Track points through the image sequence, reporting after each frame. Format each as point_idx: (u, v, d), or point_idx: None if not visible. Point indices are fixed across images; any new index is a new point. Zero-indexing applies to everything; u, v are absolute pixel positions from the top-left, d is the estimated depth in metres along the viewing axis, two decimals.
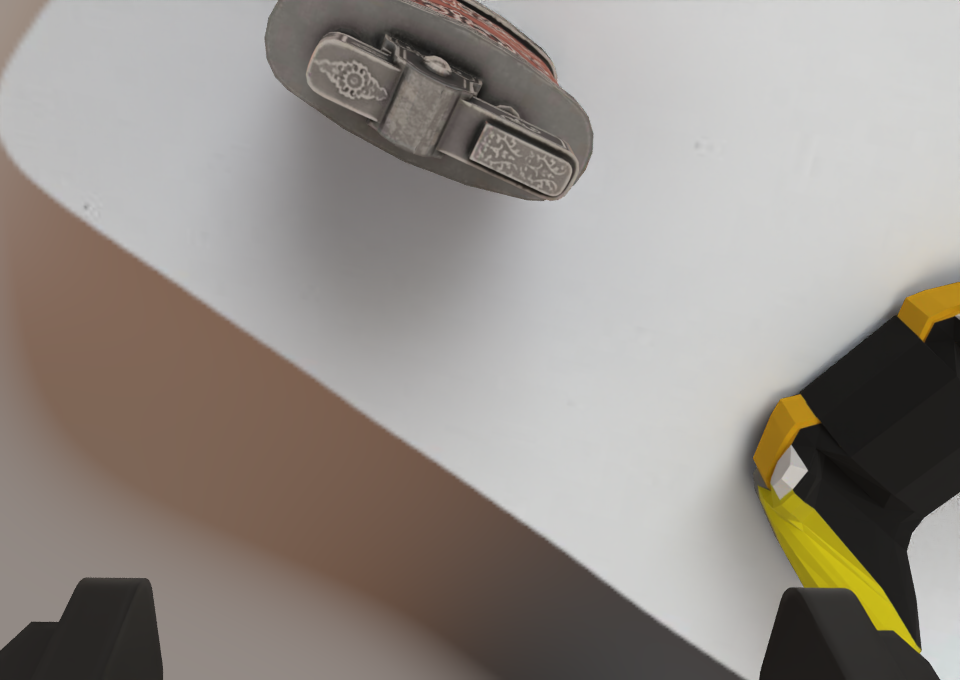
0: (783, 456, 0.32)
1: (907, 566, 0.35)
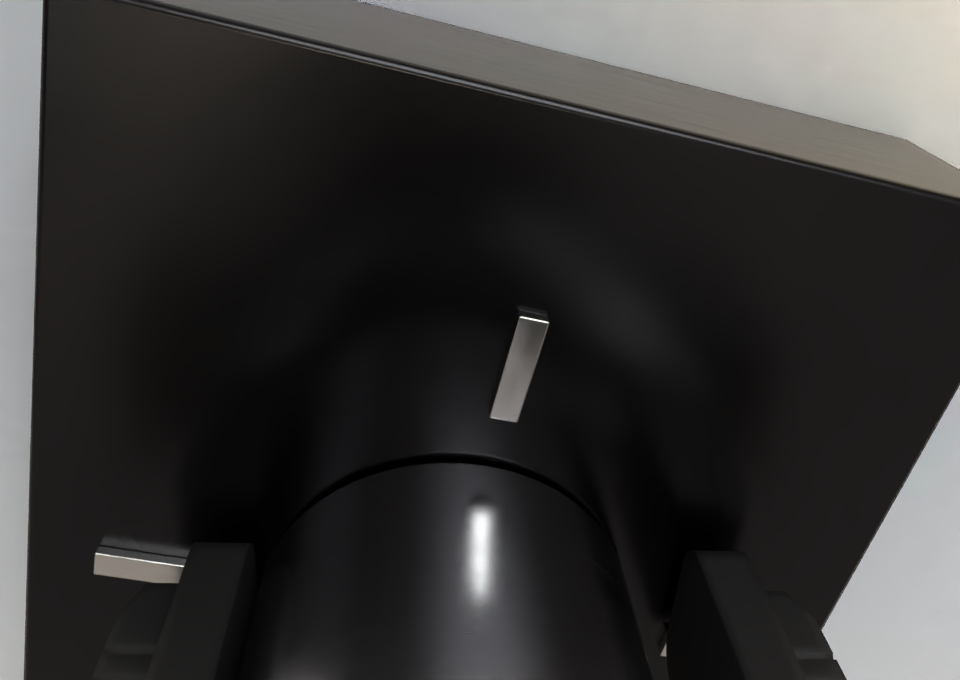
0: None
1: None
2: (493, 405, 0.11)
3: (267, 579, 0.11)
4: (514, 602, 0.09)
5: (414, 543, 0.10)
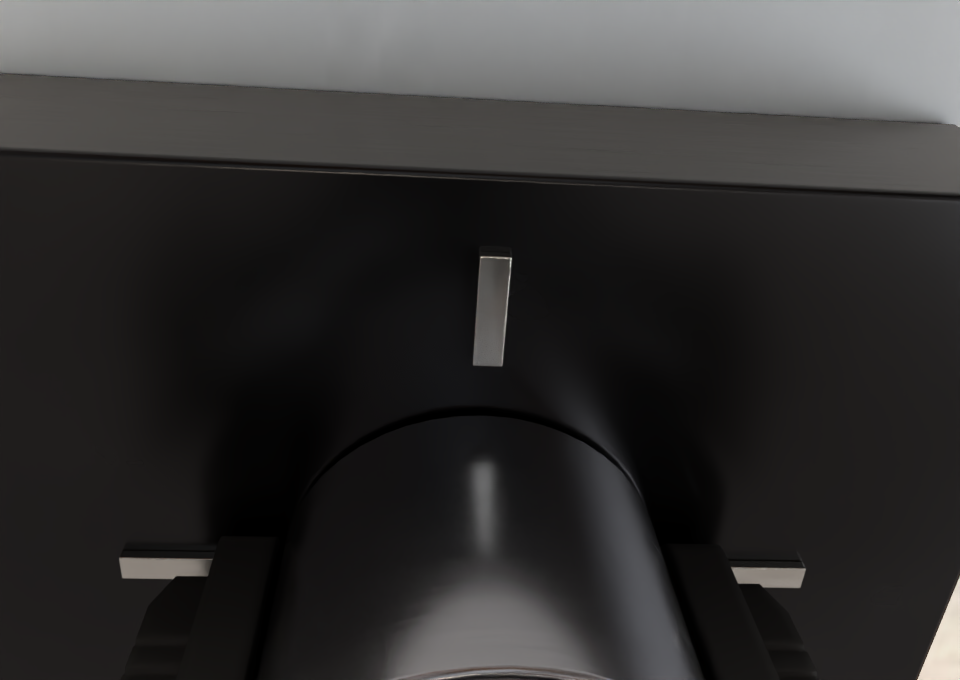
0: None
1: None
2: None
3: (320, 501, 0.11)
4: (603, 563, 0.09)
5: (501, 489, 0.10)
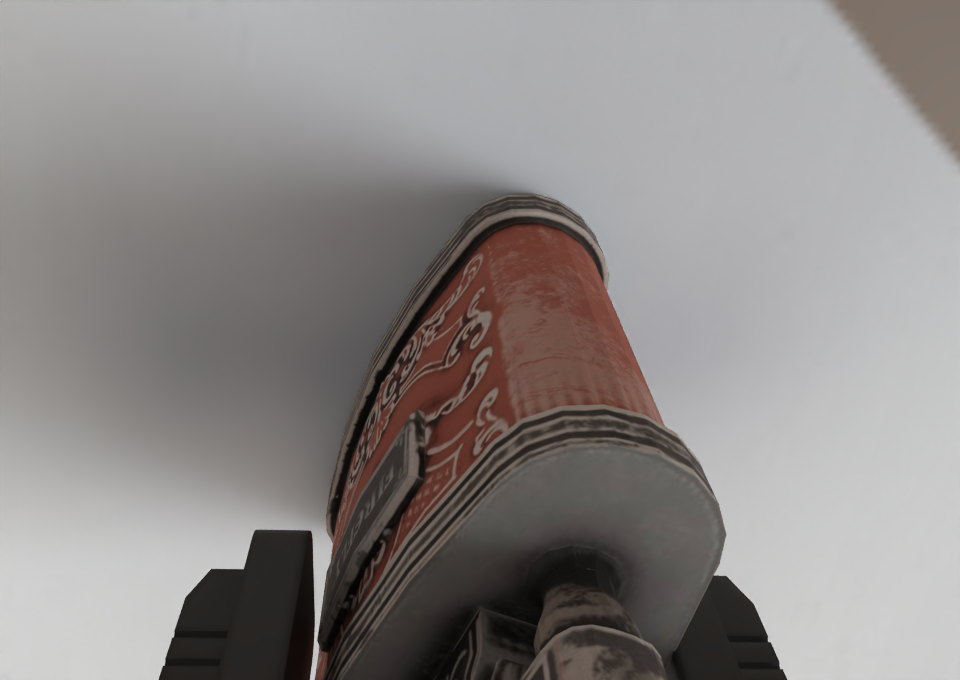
0: None
1: None
2: None
3: None
4: None
5: None
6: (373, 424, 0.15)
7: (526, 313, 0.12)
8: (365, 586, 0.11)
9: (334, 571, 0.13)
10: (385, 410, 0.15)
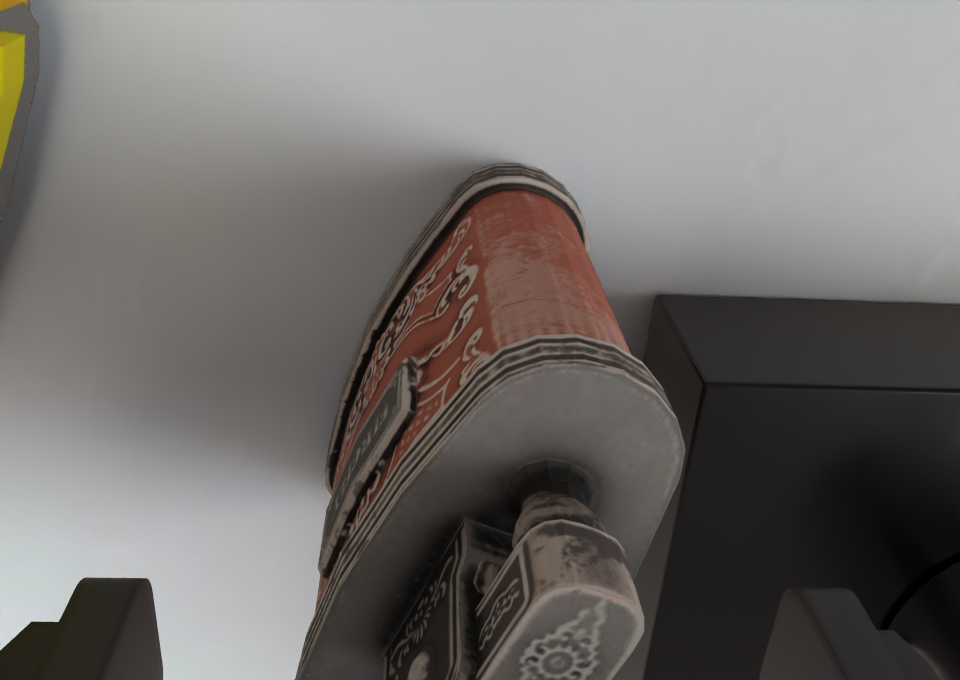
0: None
1: None
2: None
3: (953, 599, 0.16)
4: None
5: None
6: (369, 378, 0.16)
7: (510, 263, 0.13)
8: (362, 512, 0.12)
9: (333, 506, 0.14)
10: (380, 363, 0.16)
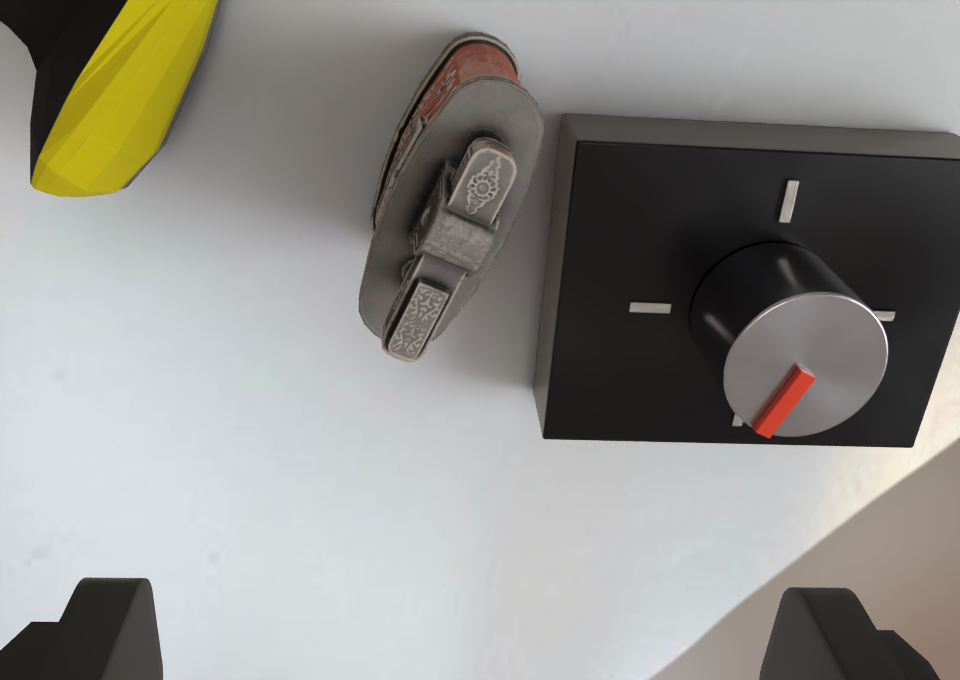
0: None
1: None
2: None
3: (721, 273, 0.29)
4: (838, 280, 0.28)
5: (799, 260, 0.28)
6: (398, 150, 0.29)
7: (471, 64, 0.26)
8: None
9: (381, 197, 0.27)
10: (405, 138, 0.29)
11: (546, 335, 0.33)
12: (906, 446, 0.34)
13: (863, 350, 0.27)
